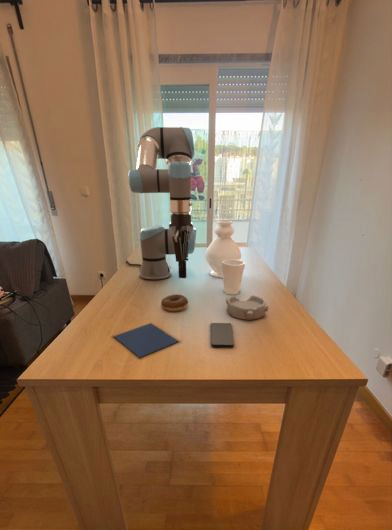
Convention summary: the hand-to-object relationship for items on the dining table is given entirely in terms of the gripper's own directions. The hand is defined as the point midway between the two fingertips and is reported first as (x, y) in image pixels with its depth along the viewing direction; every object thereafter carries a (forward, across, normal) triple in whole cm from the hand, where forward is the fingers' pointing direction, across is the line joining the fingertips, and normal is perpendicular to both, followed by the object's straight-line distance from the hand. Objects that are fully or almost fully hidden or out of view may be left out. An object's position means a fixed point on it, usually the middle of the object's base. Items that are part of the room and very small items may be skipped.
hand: (182, 277), depth 114 cm
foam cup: (+9, +13, -18) cm, 24 cm away
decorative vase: (+9, +37, -8) cm, 39 cm away
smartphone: (+9, -26, -22) cm, 36 cm away
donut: (+9, -10, 0) cm, 13 cm away
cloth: (+9, -36, 0) cm, 37 cm away
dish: (+9, -7, -28) cm, 30 cm away
